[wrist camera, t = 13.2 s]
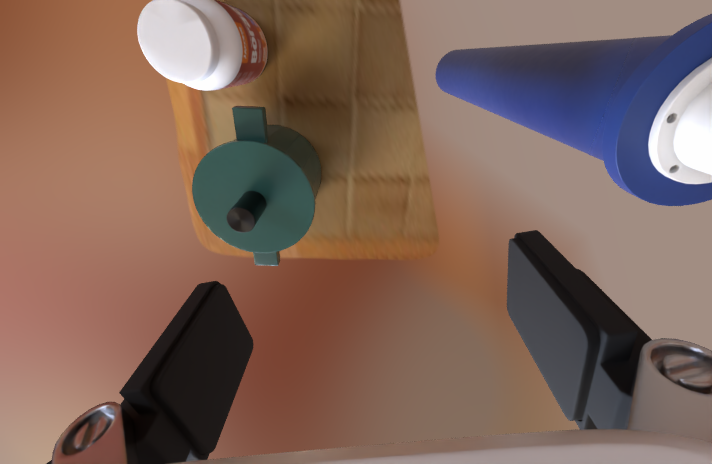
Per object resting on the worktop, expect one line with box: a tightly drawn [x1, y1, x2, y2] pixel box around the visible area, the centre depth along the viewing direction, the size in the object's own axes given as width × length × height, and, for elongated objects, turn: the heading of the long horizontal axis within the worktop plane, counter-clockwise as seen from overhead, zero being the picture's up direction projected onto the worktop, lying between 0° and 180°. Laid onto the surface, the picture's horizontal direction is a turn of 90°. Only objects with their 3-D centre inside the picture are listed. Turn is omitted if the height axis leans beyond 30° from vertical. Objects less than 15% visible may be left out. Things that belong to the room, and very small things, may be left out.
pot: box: [232, 106, 321, 266], centre depth 32 cm, size 10×15×8 cm, turn 178°
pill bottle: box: [137, 0, 268, 90], centre depth 25 cm, size 6×6×11 cm
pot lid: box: [192, 140, 315, 253], centre depth 27 cm, size 11×11×5 cm
